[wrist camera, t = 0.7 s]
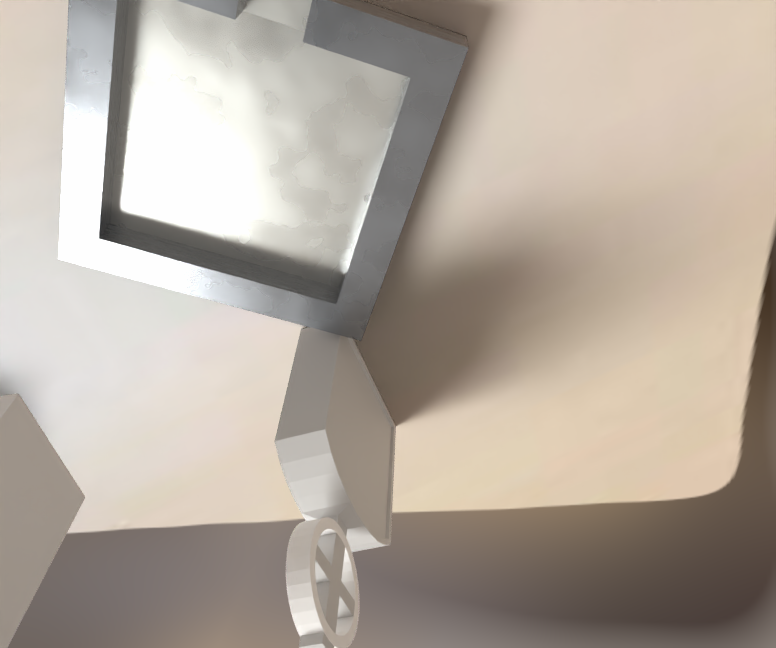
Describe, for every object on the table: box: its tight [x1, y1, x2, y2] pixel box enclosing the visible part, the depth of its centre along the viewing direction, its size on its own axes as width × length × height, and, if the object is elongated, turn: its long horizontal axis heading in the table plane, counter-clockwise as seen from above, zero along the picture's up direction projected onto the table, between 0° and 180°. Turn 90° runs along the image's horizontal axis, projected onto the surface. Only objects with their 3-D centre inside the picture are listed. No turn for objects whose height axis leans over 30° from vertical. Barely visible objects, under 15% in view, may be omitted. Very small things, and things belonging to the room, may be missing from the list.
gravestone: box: [275, 327, 396, 648], centre depth 38 cm, size 3×9×18 cm, turn 20°
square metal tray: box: [59, 0, 469, 341], centre depth 35 cm, size 17×17×2 cm
